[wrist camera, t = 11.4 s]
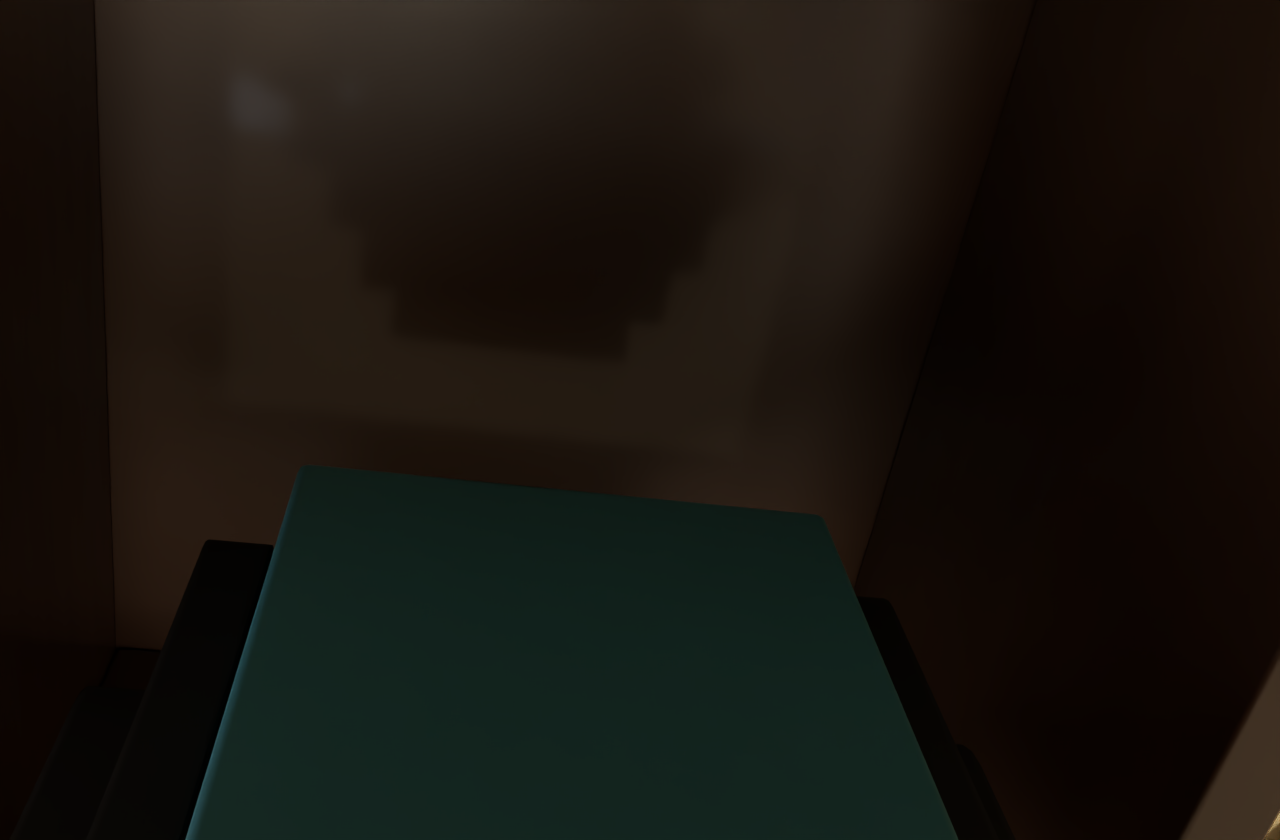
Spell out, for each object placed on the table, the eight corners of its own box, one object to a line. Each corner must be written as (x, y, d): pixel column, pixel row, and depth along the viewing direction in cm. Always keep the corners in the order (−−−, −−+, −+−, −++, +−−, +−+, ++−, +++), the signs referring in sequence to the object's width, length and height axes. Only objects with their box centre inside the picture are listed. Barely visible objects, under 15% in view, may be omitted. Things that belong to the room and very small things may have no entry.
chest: (842, 704, 21) (1036, 1247, 13) (79, 650, 19) (-220, 1255, 11) (1175, -332, 14) (2010, -466, 6) (13, -600, 12) (-923, -1307, 4)
